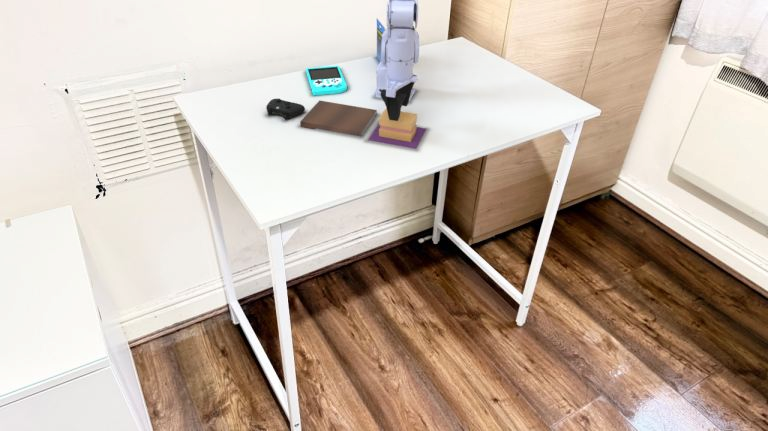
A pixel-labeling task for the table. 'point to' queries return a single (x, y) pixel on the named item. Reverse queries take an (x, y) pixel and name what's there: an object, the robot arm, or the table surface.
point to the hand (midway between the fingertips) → (398, 112)
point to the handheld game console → (326, 80)
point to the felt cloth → (412, 144)
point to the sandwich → (398, 126)
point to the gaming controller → (284, 108)
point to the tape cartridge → (379, 39)
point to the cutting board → (339, 118)
